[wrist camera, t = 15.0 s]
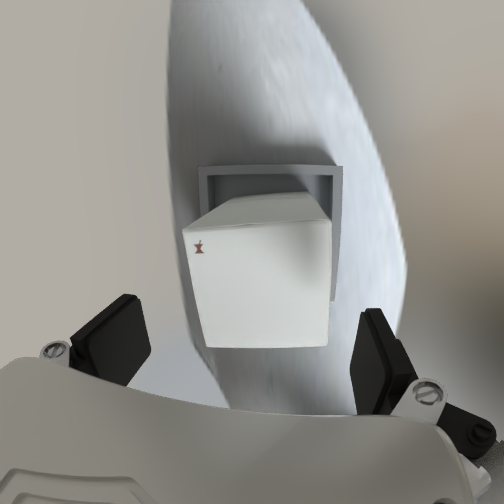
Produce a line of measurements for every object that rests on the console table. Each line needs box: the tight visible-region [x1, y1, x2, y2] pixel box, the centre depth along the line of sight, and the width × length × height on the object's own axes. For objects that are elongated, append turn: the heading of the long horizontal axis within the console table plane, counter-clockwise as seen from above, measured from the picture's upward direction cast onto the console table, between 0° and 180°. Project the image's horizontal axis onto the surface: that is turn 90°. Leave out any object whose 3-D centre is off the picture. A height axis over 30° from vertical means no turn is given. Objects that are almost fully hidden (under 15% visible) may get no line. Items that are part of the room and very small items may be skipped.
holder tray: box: [198, 164, 343, 301], centre depth 25 cm, size 12×12×3 cm
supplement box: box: [182, 191, 332, 348], centre depth 20 cm, size 7×7×13 cm
